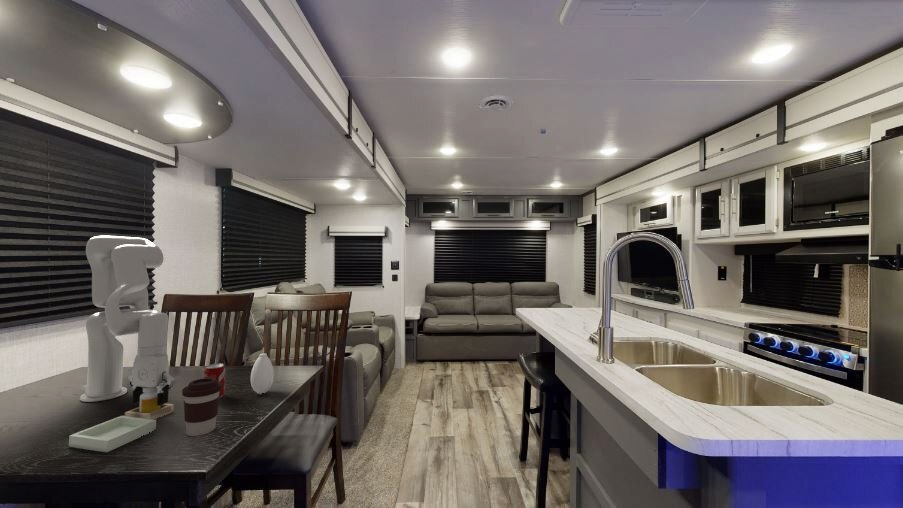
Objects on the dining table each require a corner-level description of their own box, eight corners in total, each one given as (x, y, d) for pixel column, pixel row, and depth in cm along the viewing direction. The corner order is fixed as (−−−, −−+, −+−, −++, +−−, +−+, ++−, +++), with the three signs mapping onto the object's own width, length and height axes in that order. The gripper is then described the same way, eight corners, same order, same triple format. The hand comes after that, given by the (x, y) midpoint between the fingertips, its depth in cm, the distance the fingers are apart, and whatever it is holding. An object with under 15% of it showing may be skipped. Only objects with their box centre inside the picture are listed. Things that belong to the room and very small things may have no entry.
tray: (68, 446, 97) (69, 435, 97) (121, 425, 110) (121, 415, 110) (106, 452, 95) (107, 440, 95) (155, 430, 107) (156, 420, 107)
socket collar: (124, 420, 113) (124, 412, 113) (152, 409, 122) (152, 401, 122) (146, 423, 112) (147, 415, 112) (173, 411, 120) (173, 404, 120)
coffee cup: (189, 442, 101) (191, 389, 101) (174, 433, 106) (176, 382, 106) (226, 429, 109) (228, 379, 109) (211, 420, 114) (212, 374, 115)
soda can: (213, 402, 129) (215, 368, 130) (198, 400, 131) (199, 367, 131) (228, 395, 136) (229, 363, 136) (213, 393, 137) (215, 362, 138)
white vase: (245, 395, 136) (247, 348, 137) (263, 388, 144) (264, 344, 144) (260, 398, 134) (262, 350, 134) (277, 391, 141) (279, 346, 141)
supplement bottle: (163, 414, 118) (164, 385, 118) (144, 420, 113) (145, 390, 114) (154, 411, 120) (156, 382, 121) (135, 417, 116) (136, 387, 116)
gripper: (118, 351, 115) (116, 404, 115) (163, 355, 112) (160, 409, 112) (142, 346, 123) (140, 396, 122) (184, 349, 120) (182, 400, 119)
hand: (150, 402), depth 117 cm, fingers open, 9 cm apart
